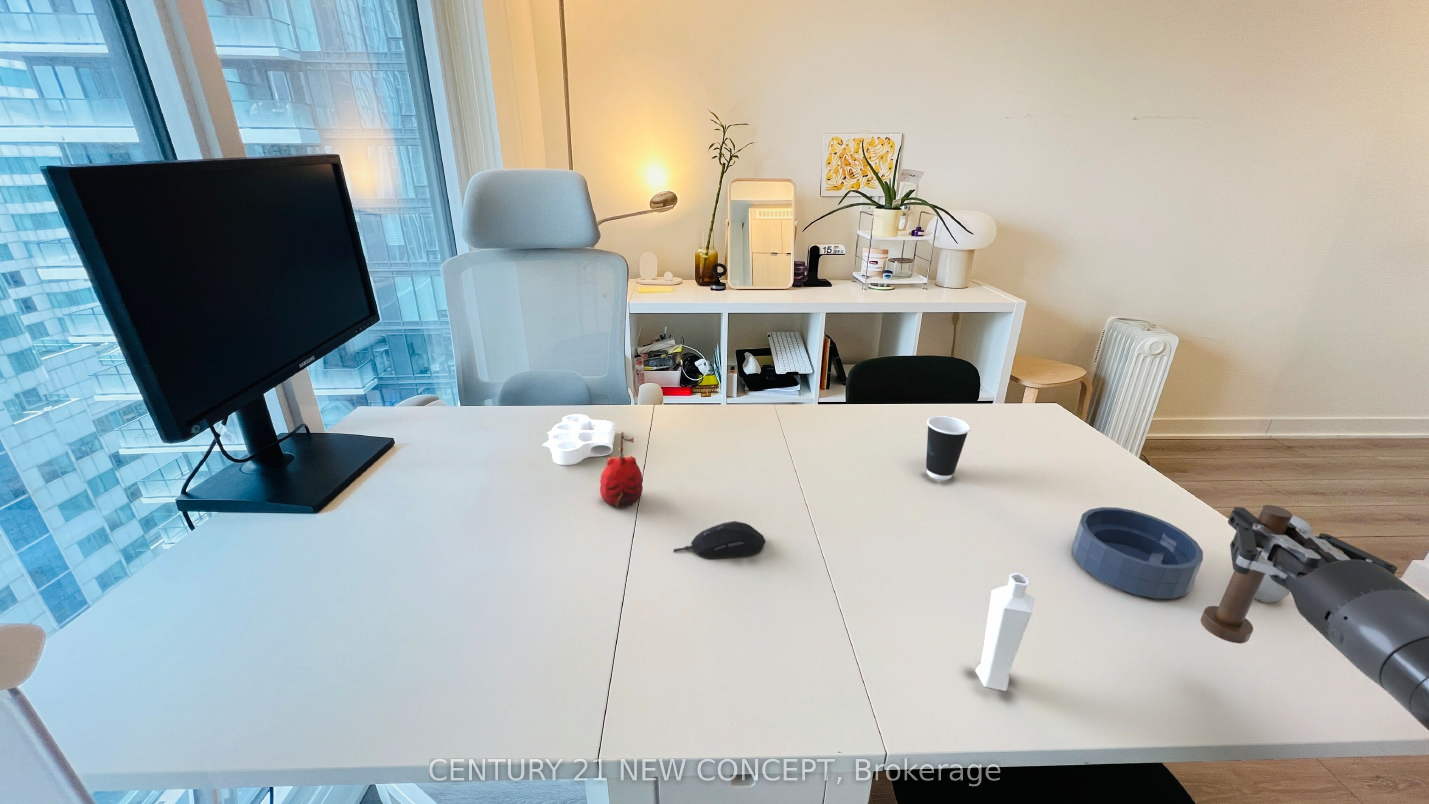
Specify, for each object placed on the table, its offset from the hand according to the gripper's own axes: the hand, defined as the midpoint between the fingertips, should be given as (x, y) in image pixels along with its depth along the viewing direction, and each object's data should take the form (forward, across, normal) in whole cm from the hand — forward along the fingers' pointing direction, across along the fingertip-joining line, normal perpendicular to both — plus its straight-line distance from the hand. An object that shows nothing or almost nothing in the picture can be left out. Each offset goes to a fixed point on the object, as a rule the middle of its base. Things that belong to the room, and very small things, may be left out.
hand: (1250, 515), depth 66 cm
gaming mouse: (+14, +61, +23) cm, 67 cm away
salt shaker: (+18, -19, +23) cm, 34 cm away
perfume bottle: (-6, +24, +23) cm, 34 cm away
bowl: (+21, -2, +22) cm, 31 cm away
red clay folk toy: (+24, +81, +23) cm, 87 cm away
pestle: (-3, 0, +14) cm, 14 cm away
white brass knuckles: (+44, +96, +23) cm, 108 cm away
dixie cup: (+46, +22, +23) cm, 56 cm away
